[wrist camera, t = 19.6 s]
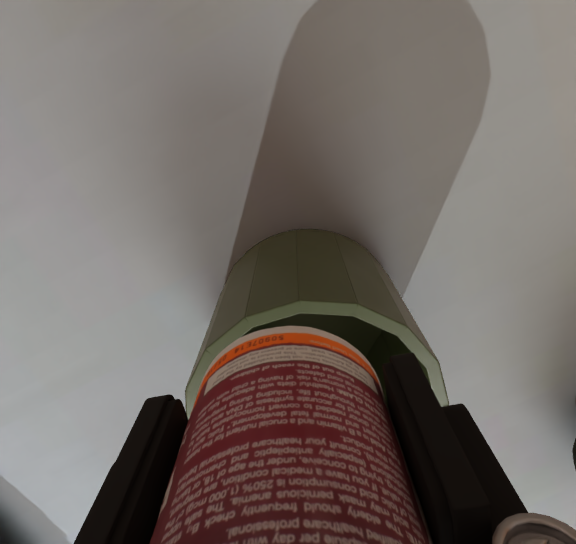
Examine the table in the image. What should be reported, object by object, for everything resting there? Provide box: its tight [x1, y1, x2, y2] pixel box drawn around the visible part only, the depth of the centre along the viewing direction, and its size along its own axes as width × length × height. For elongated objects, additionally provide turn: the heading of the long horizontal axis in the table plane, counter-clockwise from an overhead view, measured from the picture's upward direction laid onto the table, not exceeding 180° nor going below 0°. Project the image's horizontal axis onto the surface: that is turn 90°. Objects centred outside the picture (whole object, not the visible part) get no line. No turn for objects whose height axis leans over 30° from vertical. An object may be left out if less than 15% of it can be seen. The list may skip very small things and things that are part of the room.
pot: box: [185, 229, 449, 420], centre depth 23 cm, size 12×12×10 cm
